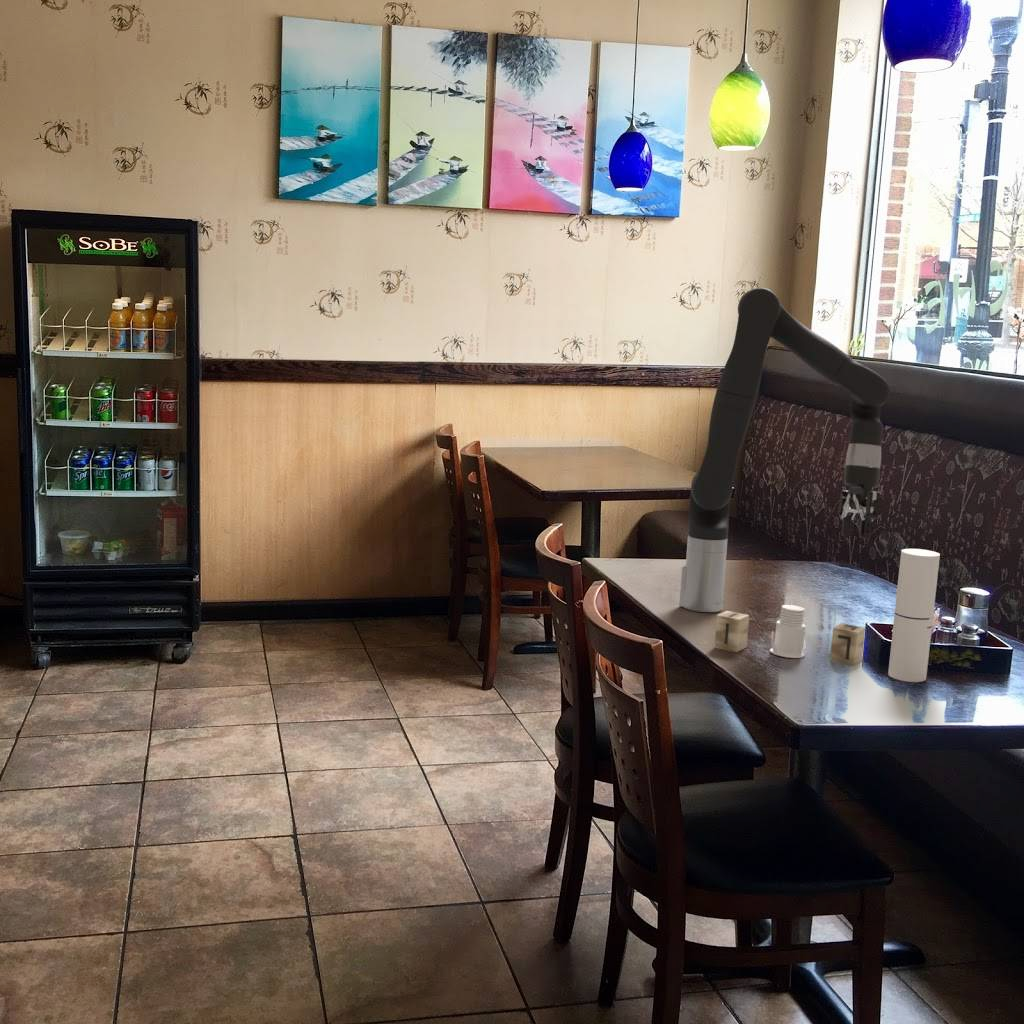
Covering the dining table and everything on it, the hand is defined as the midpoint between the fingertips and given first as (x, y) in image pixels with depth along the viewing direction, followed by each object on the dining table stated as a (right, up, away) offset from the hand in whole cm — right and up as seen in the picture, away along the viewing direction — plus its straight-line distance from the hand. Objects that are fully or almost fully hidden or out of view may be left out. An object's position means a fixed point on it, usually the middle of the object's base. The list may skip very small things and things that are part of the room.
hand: (855, 536), depth 267 cm
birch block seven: (-9, -25, -24) cm, 36 cm away
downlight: (-20, -24, -21) cm, 38 cm away
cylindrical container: (+1, -27, -33) cm, 43 cm away
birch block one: (-31, -23, -18) cm, 43 cm away
